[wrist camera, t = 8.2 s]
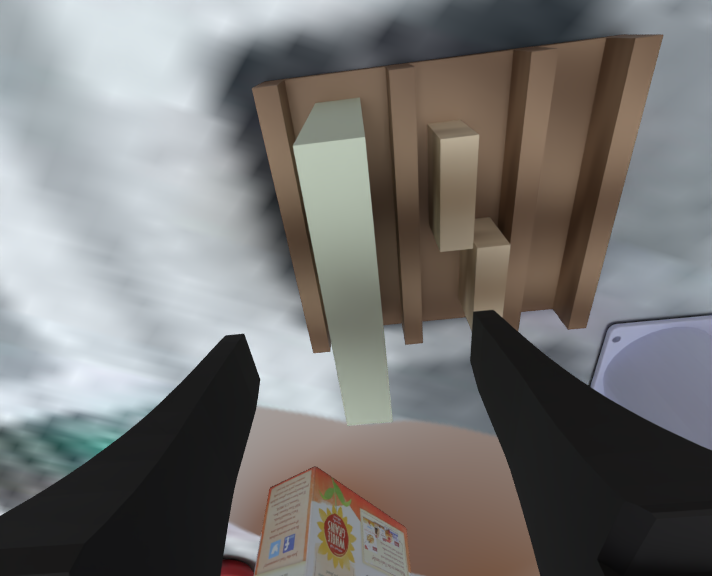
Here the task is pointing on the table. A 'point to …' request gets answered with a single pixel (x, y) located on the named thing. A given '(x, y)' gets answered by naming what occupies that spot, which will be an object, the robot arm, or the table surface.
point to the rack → (478, 170)
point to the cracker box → (328, 532)
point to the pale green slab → (346, 253)
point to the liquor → (235, 568)
